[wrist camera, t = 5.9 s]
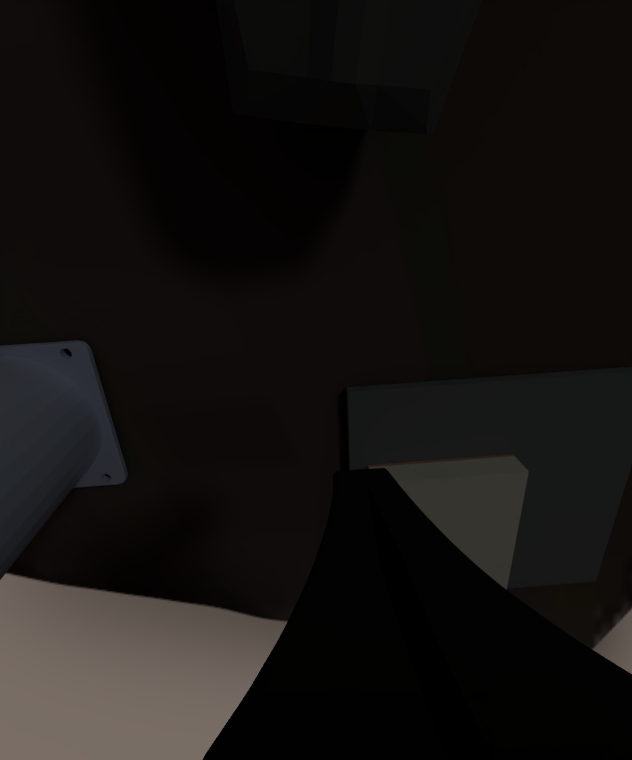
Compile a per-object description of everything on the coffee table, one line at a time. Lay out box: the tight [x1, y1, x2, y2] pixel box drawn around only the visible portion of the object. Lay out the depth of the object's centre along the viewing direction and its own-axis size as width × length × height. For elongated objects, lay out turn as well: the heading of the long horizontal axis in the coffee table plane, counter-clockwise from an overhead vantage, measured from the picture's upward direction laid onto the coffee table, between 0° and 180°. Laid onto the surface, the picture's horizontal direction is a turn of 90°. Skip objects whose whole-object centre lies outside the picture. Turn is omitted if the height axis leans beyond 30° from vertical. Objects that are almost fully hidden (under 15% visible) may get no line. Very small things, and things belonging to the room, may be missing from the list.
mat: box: [346, 367, 632, 589], centre depth 23 cm, size 16×15×1 cm
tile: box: [368, 454, 529, 590], centre depth 23 cm, size 8×2×9 cm
